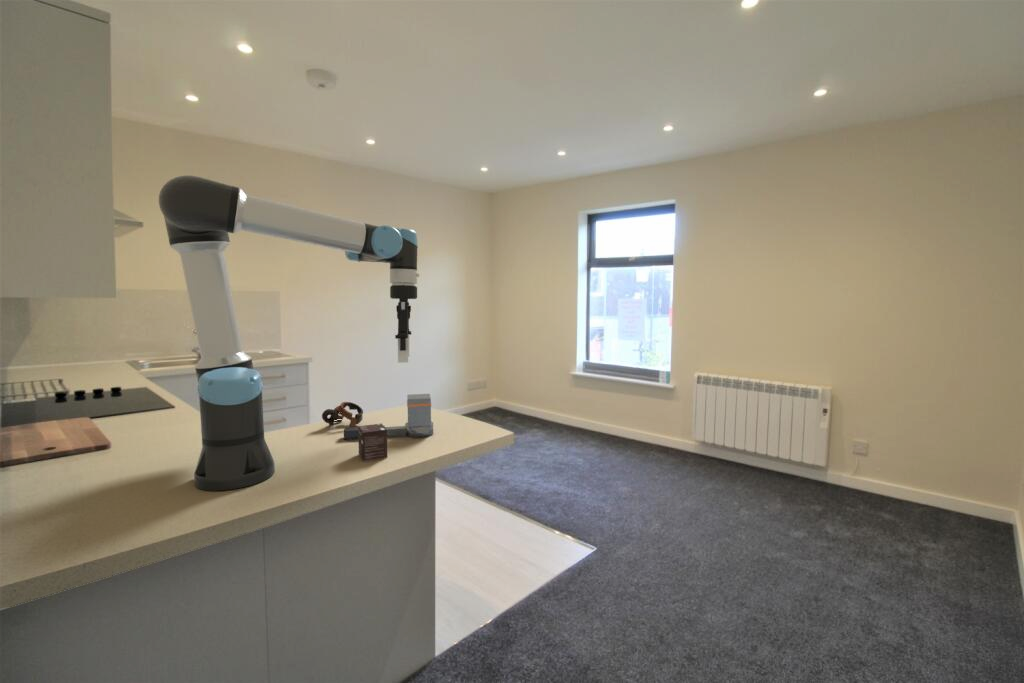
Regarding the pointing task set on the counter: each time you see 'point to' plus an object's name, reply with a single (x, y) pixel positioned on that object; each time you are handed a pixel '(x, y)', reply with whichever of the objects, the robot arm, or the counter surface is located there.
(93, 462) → the counter surface
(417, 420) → the orange-striped grey cube
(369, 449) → the box
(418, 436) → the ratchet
